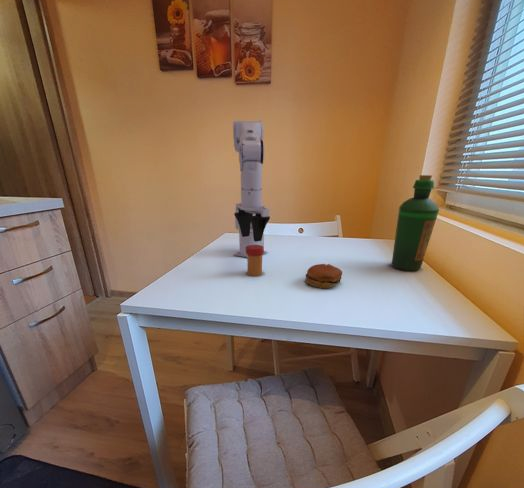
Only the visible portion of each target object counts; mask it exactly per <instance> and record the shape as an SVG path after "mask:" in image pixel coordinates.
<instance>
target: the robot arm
mask: <svg viewBox="0 0 524 488" xmlns="http://www.w3.org/2000/svg"><path fill="white" fill-rule="evenodd" d="M232 135H233V136H232V137H233V139H232V140H233V147H234V151H235V152H236V153H238V162H239V171H240V203H235V207H234V209H235V210H234V211H235V212H234V214H233V215H234V222H235V223H234V225H235V229H236V230H237V231H238V237H239V241H238V243H239V251H238V252H236V253H234V256H237V257H241V258H242V257H243V258H247V254H246V246H248V245H261V246H263V247H264V248H265V235H264V233H265V229H266V226H267V224H268V222H269V221H270V219H271V215H270V208H267V207H266V206H265V205H263V204H262V203H263V201H262V200H263V165H264V163H265V162H264V161H265V143H264V122H263V121H262V120H236V119H234V120H233V121H232ZM266 252H267V251H266V250H264V253H263V254H266Z"/></svg>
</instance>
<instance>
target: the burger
mask: <svg viewBox="0 0 524 488" xmlns="http://www.w3.org/2000/svg"><path fill="white" fill-rule="evenodd" d="M342 276H343V271H342V269H340V268H339V267H338V266H334V265H332V264H330V263H327V264H326V263H319V264H314V265H312V266H310V267H309V268H308V269H307V271H306V273H305V279H306V283H307V284H308V285H309V286H312V287H315V288H319V289H330V288H333V287H335V286H336V285H338V284H339V283H341V280H342Z"/></svg>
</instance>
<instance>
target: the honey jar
mask: <svg viewBox="0 0 524 488" xmlns="http://www.w3.org/2000/svg"><path fill="white" fill-rule="evenodd" d="M246 259H247V260H246V262H247V263H246V264H247V265H246V266H247V268H246V269H247V271H246V272H247V275H248V276H251V277H259V276H261V275H263V254H262V255H259V256H251V255H247V257H246Z"/></svg>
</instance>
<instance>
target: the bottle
mask: <svg viewBox="0 0 524 488" xmlns="http://www.w3.org/2000/svg"><path fill="white" fill-rule="evenodd" d="M432 178H433V175H430V174H429V175H428V174H420V175H419V179H416V180H415V181H414V184H413V186H412V189H413V190H414V191H413V197H411V198H408V199H406V200H405V201H403V202H402V203H401V204H400V206H398V207H399V208H398V215H397V221H396V228H395V235H394V242H393V243H394V244H393V252H392V257H391V266H392V267H394V268H396V269H397V270H400V271H406V272H407V271H408V272H413V271H419V270H421V269H422V265H423V262H424V259H425V256H426V253H427V249H428V246H429V243H430V240H431V237H432V233H433V231H434V227H435V224H436V221H437V218H438V216H439V215H438V214H439V212H440V209H439V206H438V204H437V203H436V202H435V201H434V200H433V199H431V198H430V196H431V192H432V190H434V189H435V180H434V179H432Z"/></svg>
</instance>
